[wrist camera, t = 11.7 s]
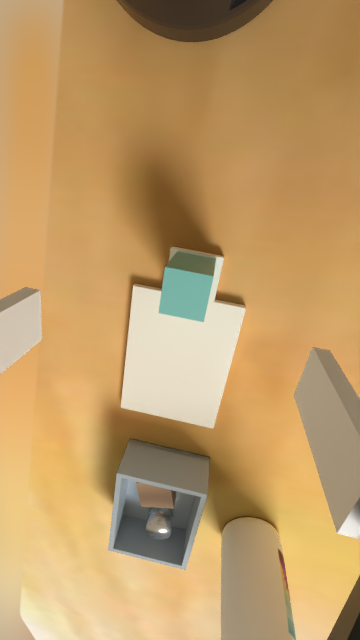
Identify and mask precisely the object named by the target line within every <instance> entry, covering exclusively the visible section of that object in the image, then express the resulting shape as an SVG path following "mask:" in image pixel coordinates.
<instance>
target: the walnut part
mask: <svg viewBox="0 0 360 640" xmlns="http://www.w3.org/2000/svg"><path fill="white" fill-rule="evenodd" d="M136 484H137V489H138V494H139V499H140V503H141V507H156V508H172V509H174V505H175V499H176V493H177V491H173V490H169V489H165V488H161V487H156V486H152V485H148V484H144V483H140V482H136Z"/></svg>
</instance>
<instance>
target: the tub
mask: <svg viewBox="0 0 360 640" xmlns="http://www.w3.org/2000/svg"><path fill="white" fill-rule="evenodd" d="M209 464H210V457H206V456H202V455H198V454H194V453H189V452H185V451H181V450H176V449H172V448H168V447H163V446H159V445H155V444H150V443H146V442H142V441H137V440H133V439H130V440H129V442H128V445H127V448H126V450H125V453H124V455H123V458H122V461H121V463H120V466H119V468H118V471H117V475H116V484H115V493H114V502H113V511H112V521H111V530H110V539H109V548H108V550H110V551H113V552H117V553H121V554H125V555H129V556H133V557H137V558H141V559H145V560H149V561H152V562H156V563H160V564H164V565H168V566H172V567H176V568H180V569H184V570H186V567H187V563H188V560H189V557H190V553H191V550H192V546H193V543H194V540H195V536H196V533H197V529H198V526H199V523H200V519H201V516H202V512H203V509H204V506H205V502H206V499H207V495H208V481H209ZM136 482H140V483H144V484H148V485H152V486H156V487H161V488H165V489H169V490H173V491H177V493H176V499H175V505H174V509H173V518H172V526H171V535H170V537H168V538H167V539H162V540H159V539H154V538H151V537H149V536H148V535H147V534H146V532H145V528H146V523H147V518H148V512H149V507H141V503H140V499H139V494H138V489H137V484H136Z"/></svg>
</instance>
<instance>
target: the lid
mask: <svg viewBox="0 0 360 640" xmlns="http://www.w3.org/2000/svg"><path fill="white" fill-rule="evenodd" d="M223 260H224V256H221V255H216V254H211V253H206V252H201V251H195V250H190V249H185V248H180V247H174V246H172V247H171V248H170V255H169V261H168V264H167V265H166V266H165V271H164V278H163V285H162V289H161V288H156V287H151V286H146V285H141V284H136V283H135V284H134V285H133V292H132V302H131V312H130V321H129V331H128V341H127V350H126V360H125V370H124V380H123V389H122V399H121V408H125V409H129V410H133V411H138V412H142V413H147V414H151V415H155V416H160V417H164V418H169V419H173V420H177V421H182V422H186V423H191V424H195V425H199V426H204V427H208V428H214V424H215V421H216V417H217V413H218V410H219V406H220V402H221V399H222V395H223V391H224V387H225V384H226V380H227V376H228V373H229V369H230V365H231V362H232V358H233V354H234V351H235V347H236V343H237V340H238V336H239V332H240V329H241V325H242V321H243V318H244V314H245V310H246V306H245V305H241V304H236V303H231V302H226V301H221V300H216V299H215V296H216V291H217V287H218V282H219V278H220V273H221V269H222V264H223Z"/></svg>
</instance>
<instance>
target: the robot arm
mask: <svg viewBox="0 0 360 640" xmlns="http://www.w3.org/2000/svg"><path fill="white" fill-rule="evenodd" d="M117 1H118V2H119V4H120V5H121V6H122V7H123V9H124V10H125V11H126V12H127V13H128V14H129V15H130V16H131V17H132V18H133V19H134V20H136V21H137V22H138V23H139V24H141V25H142V26H143V27H145V28H147V29H148V30H150V31H152V32H153V33H155V34H157V35H160V36H162V37H165V38H168V39H171V40H176V41H183V42H200V41H207V40H212V39H215V38H219V37H222V36H224V35H227V34H229V33H231V32H233V31H235V30H237V29H239V28H240V27H242V26H244V25H245V24H247V23H248V22H249V21H251V20H252V19H253V18H255V17H256V16H257V15H258V14H259V13H260V12H262V11H263V10H264V9H265V8H266V7H267V6H268V5H269V4H270V3H271V2H272V0H117ZM41 340H42V322H41V294H40V290H36V289H32V288H27V287H25V288H23V289H21V290H19V291H17V292H15V293H13V294H11V295H9V296H7V297H5V298H3V299H1V300H0V374H1V373H2V372H3V371H5V370H6V369H7V368H8V367H9V366H11V365H12V364H13V363H14V362H16V361H17V360H18V359H19V358H20V357H22V356H23V355H24V354H25V353H26V352H28V351H29V350H30V349H31V348H33V347H34V346H35V345H36V344H37V343H39V342H40V341H41ZM294 397H295V400H296V403H297V406H298V410H299V413H300V416H301V419H302V422H303V426H304V429H305V432H306V435H307V438H308V442H309V445H310V448H311V451H312V454H313V458H314V461H315V464H316V467H317V470H318V474H319V477H320V480H321V483H322V486H323V490H324V493H325V496H326V499H327V502H328V506H329V509H330V512H331V515H332V518H333V522H334V525H335V528H336V531H337V533H338V534H342V535H346V536H350V537H354V538H358V539H360V399H359V397H358V395H357V394H356V392H355V391H354V389H353V387H352V386H351V384H350V382H349V381H348V379H347V378H346V376H345V374H344V373H343V371H342V369H341V368H340V366H339V365H338V363H337V361H336V360H335V358H334V356H333V355H332V353H331V352H330V350H325V349H320V348H315V347H313V348H312V350H311V353H310V356H309V358H308V361H307V363H306V366H305V368H304V371H303V373H302V376H301V378H300V381H299V383H298V386H297V388H296V391H295V393H294ZM327 640H360V576H359V578H358V580H357V582H356V584H355V586H354V588H353V590H352V592H351V594H350V596H349V598H348V600H347V602H346V604H345V605H344V607H343V609H342V611H341V613H340V615H339V617H338V619H337V621H336V623H335V625H334V627H333V629H332V631H331V633H330V635H329V637H328V639H327Z"/></svg>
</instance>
